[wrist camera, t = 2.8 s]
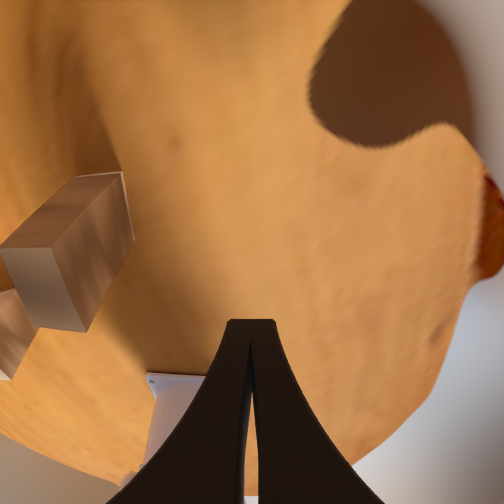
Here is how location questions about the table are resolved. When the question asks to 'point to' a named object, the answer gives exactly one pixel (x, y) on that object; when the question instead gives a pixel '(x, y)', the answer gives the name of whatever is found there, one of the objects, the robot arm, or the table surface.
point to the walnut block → (71, 251)
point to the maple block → (13, 333)
